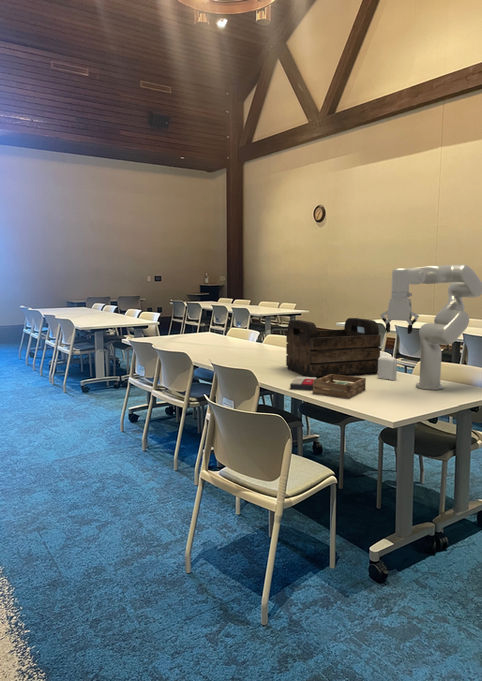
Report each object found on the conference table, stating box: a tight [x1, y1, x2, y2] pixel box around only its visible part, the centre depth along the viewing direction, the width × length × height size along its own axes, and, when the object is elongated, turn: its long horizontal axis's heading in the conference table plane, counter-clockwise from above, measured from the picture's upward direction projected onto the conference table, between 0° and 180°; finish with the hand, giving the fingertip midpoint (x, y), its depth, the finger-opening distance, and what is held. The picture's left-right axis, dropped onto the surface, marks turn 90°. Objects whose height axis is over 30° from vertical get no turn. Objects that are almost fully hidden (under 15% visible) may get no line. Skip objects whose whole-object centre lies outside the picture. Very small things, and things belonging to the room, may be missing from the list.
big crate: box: [312, 374, 367, 400], centre depth 226 cm, size 20×18×6 cm
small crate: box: [330, 380, 350, 392], centre depth 226 cm, size 10×5×3 cm, turn 145°
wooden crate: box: [285, 317, 382, 379], centre depth 276 cm, size 42×34×30 cm
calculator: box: [289, 376, 319, 392], centre depth 238 cm, size 11×4×15 cm
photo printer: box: [377, 355, 398, 381], centre depth 255 cm, size 10×4×12 cm, turn 39°
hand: (398, 332), depth 220 cm, fingers open, 9 cm apart
